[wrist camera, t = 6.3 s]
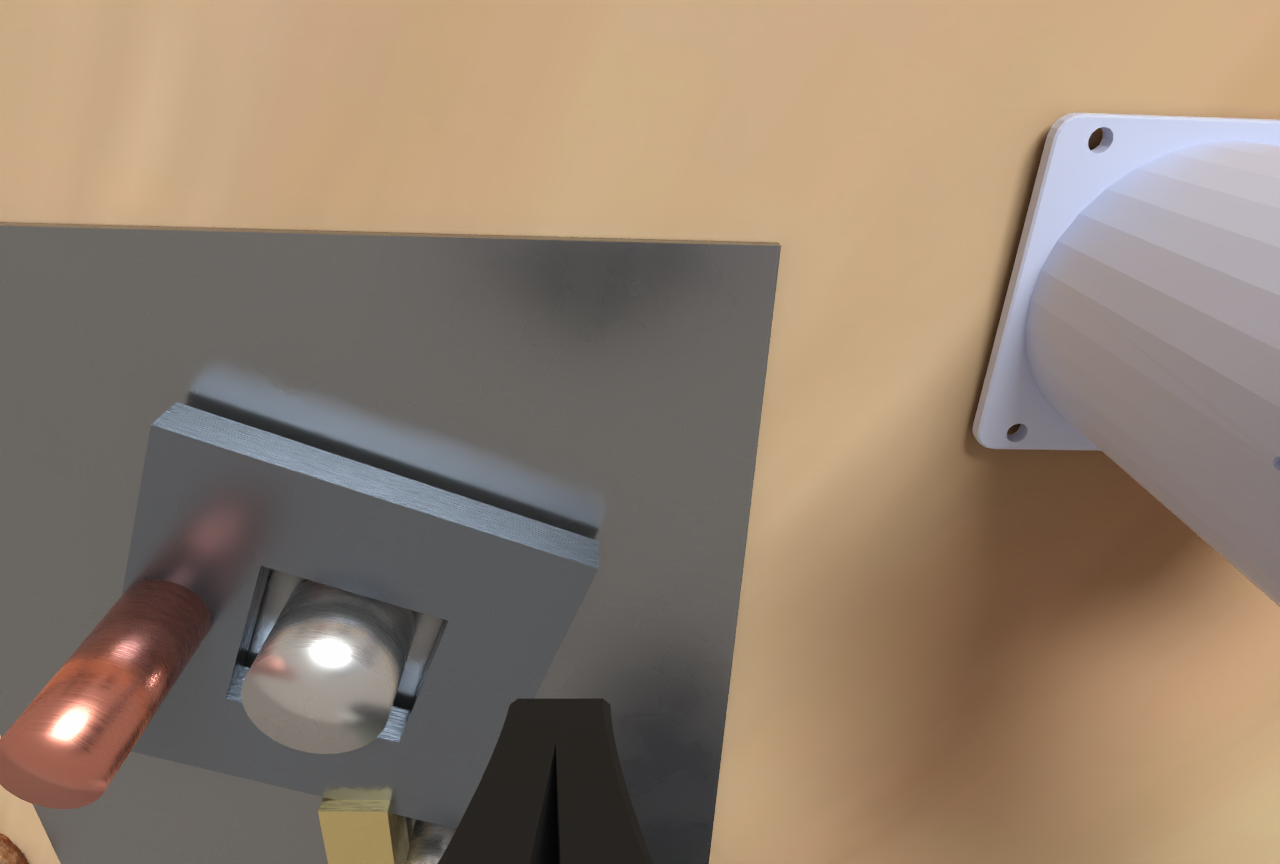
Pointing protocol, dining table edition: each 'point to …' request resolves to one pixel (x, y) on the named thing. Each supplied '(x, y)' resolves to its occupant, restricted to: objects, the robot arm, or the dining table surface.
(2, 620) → the post base
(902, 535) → the dining table surface
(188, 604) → the metal parts fixture
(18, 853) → the cookie
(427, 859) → the dowel pin
